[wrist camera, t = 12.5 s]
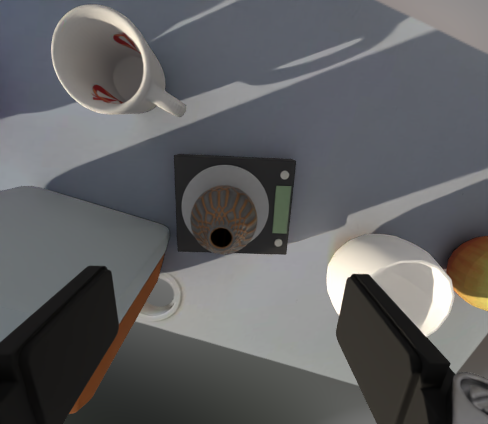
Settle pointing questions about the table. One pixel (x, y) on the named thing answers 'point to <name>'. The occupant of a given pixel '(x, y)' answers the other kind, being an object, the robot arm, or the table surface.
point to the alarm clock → (73, 258)
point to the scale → (248, 180)
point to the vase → (223, 219)
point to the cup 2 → (395, 277)
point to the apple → (471, 271)
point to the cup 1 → (109, 63)
